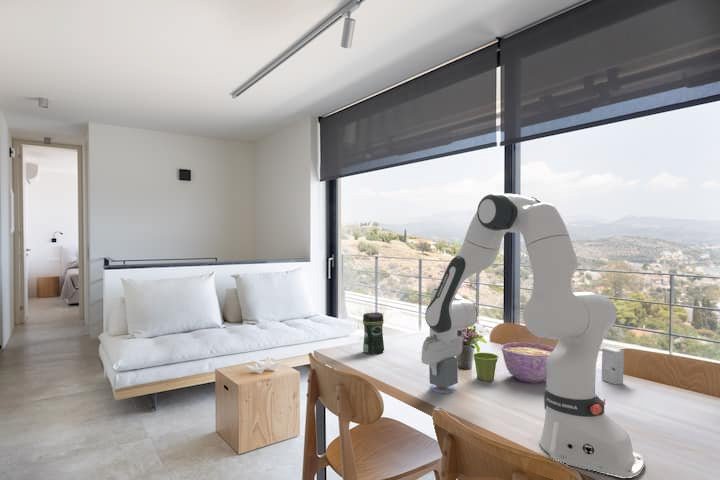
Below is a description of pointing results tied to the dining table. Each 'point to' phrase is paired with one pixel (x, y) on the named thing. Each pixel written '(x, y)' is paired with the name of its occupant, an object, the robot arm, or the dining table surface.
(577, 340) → the robot arm
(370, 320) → the coffee jar
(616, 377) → the skincare box
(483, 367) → the plant pot
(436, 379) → the grey upright box
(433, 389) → the circle
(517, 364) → the bowl of food
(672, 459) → the dining table surface
